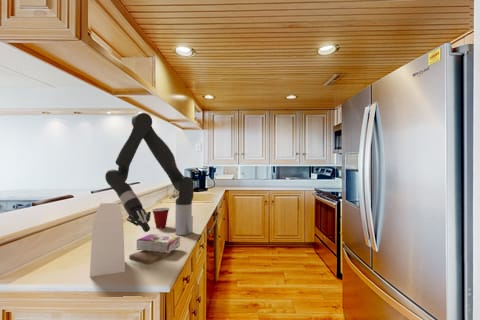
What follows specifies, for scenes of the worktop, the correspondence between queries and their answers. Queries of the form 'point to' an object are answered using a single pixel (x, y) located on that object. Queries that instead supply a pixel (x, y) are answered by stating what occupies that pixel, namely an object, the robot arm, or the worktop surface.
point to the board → (149, 256)
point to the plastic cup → (160, 217)
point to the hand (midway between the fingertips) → (147, 230)
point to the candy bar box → (158, 243)
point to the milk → (107, 241)
